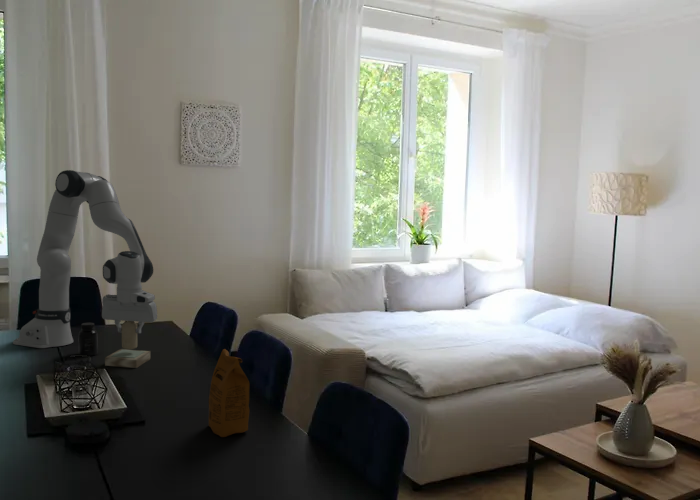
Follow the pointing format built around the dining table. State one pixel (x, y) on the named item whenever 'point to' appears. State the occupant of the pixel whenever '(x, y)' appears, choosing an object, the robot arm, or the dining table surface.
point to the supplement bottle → (88, 339)
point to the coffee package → (228, 397)
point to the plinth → (127, 358)
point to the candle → (129, 335)
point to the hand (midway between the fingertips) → (129, 332)
